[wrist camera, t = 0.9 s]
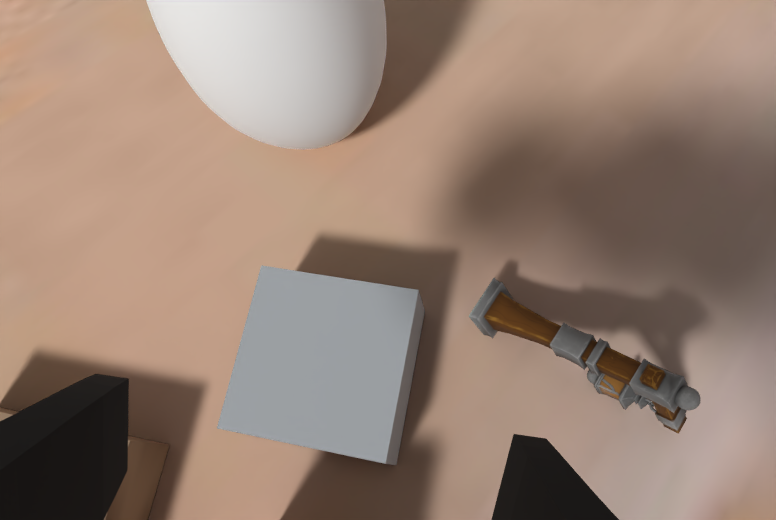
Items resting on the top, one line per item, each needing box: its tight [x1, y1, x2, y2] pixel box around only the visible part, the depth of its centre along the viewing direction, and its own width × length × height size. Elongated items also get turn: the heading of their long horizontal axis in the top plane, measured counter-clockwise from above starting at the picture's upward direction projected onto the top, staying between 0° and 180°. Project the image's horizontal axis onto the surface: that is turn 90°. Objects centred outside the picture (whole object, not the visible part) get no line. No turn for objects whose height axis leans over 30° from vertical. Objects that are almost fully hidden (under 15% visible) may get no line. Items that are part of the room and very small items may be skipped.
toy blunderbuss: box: [469, 278, 700, 434], centre depth 22 cm, size 2×8×4 cm, turn 55°
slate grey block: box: [217, 266, 425, 465], centre depth 23 cm, size 6×6×3 cm
